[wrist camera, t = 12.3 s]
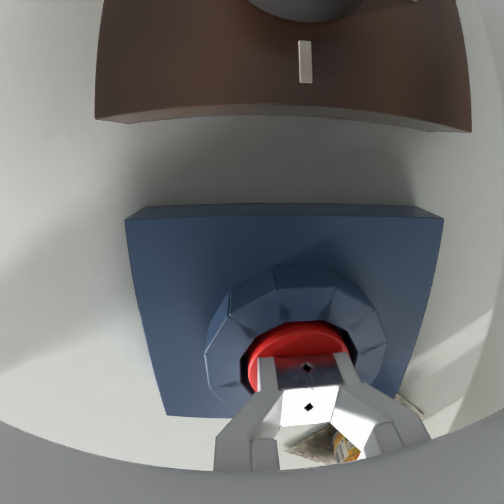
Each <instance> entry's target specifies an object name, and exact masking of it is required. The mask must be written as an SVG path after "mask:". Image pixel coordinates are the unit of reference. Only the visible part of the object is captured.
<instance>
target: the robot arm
mask: <svg viewBox="0 0 504 504" xmlns="http://www.w3.org/2000/svg"><path fill="white" fill-rule="evenodd" d="M324 422H330V423H331V424H332V425H333V426H334V427H335V428H336V429H337V430H338V431H339V432H341V433H342V434H343V435H344V436H345V437H346V438H347V439H348V440H349V441H350V442H351V443H352V444H354V445H355V446H356V447H357V448H358V449H359V450H360V451H361V453H360V455H359V457H358V459H357V460H354V461H349V462H344V463H338V464H332V465H325V466H318V467H310V468H301V469H290V470H280V465H279V457H278V449H277V441H276V440H274V437H275V436H276V434H277V432H278V431H279V429H280V427H283V426H293V425H302V424H313V423H324ZM0 504H504V408H503V409H501V410H499V411H498V412H496V413H494V414H492V415H490V416H487V417H486V418H483V419H481V420H479V421H477V422H475V423H472V424H470V425H468V426H466V427H463V428H461V429H458V430H456V431H454V432H451V433H448V434H445V435H443V436H440V437H437V438H435V439H432V440H431V438H430V436H429V434H428V432H427V430H426V428H425V426H424V424H423V422H422V421H421V419H420V417H419V415H418V413H416V412H414V411H413V410H411V409H409V408H407V407H406V406H404V405H402V404H401V403H399V402H397V401H396V400H394V399H392V398H391V397H389V396H387V395H386V394H384V393H382V392H381V391H379V390H377V389H376V388H374V387H372V386H371V385H369V384H367V383H366V382H362V383H361V381H360V379H359V377H358V375H357V373H356V370H355V368H354V366H353V364H352V362H351V359H350V357H349V355H348V353H347V352H346V351H344V352H336V353H329V354H318V355H306V356H274V357H258V371H257V392H255V393H254V394H253V395H252V396H251V398H250V399H249V400H248V401H247V402H246V404H245V405H244V406H243V407H242V408H241V409H240V411H239V412H238V413H237V414H236V415H235V416H234V417H233V419H232V420H231V421H230V422H229V423H228V424H227V425H226V426H225V428H224V429H223V430H222V431H221V432H220V433H219V434H218V435H217V436H216V441H215V454H214V468H213V471H199V470H186V469H176V468H167V467H159V466H152V465H145V464H139V463H133V462H128V461H123V460H118V459H113V458H109V457H104V456H100V455H96V454H92V453H88V452H84V451H81V450H77V449H74V448H71V447H67V446H64V445H61V444H58V443H55V442H52V441H49V440H46V439H43V438H41V437H38V436H35V435H33V434H30V433H28V432H25V431H23V430H20V429H18V428H16V427H13V426H11V425H9V424H7V423H4V422H2V421H0Z"/></svg>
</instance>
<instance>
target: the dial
mask: <svg viewBox="0 0 504 504" xmlns="http://www.w3.org/2000/svg"><path fill="white" fill-rule="evenodd" d="M248 1H249V2H250V3H252V4H253V5H254V6H256V7H258V8H259V9H261V10H263V11H265V12H267V13H269V14H272V15H274V16H277V17H280V18H284V19H288V20H292V21H298V22H308V23H318V22H328V21H332V20H336V19H339V18H342V17H344V16H346V15H348V14H350V13H351V12H352V11H354V10H355V9H356V8H357V7H358V6H359V5H360V4H361V3H362V1H363V0H248Z"/></svg>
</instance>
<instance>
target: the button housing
mask: <svg viewBox="0 0 504 504" xmlns="http://www.w3.org/2000/svg"><path fill="white" fill-rule="evenodd" d="M443 223H444V219H443V218H442V217H439V216H437V215H435V214H433V213H431V212H428V211H426V210H424V209H421V208H419V207H413V206H394V205H369V204H333V203H237V204H200V205H174V206H154V207H143V208H142V209H140V210H139V211H137V212H136V213H134V214H133V215H131V216H130V217H128V218H127V219H125V229H126V237H127V244H128V251H129V258H130V265H131V271H132V277H133V282H134V288H135V293H136V298H137V304H138V309H139V313H140V318H141V323H142V327H143V332H144V336H145V340H146V344H147V348H148V352H149V356H150V360H151V364H152V368H153V371H154V375H155V379H156V382H157V386H158V389H159V392H160V396H161V399H162V402H163V406H164V409H165V412H166V415H169V416H182V417H200V418H233V417H234V416H235V415H236V414H237V413H238V412H239V411H240V409H241V408H242V407H243V406H244V405H245V404H246V402H247V401H248V400H249V399H250V398H251V396H252V395H253V394H254V393H255V391H254V389H253V388H252V386H251V384H250V382H249V378H248V352H247V349H248V347H249V346H250V345H251V343H252V342H253V341H254V339H255V338H256V337H257V336H259V335H261V334H263V333H265V332H267V331H269V330H271V329H273V328H275V327H277V326H279V325H281V324H283V323H285V322H294V321H313V320H324V321H326V322H328V323H330V324H333V325H335V326H337V328H338V330H339V332H340V334H341V336H342V339H343V341H344V343H345V345H346V347H347V349H348V352H349V356H350V359H351V362H352V364H353V366H354V368H355V370H356V373H357V375H358V377H359V379H360V381H361V383H362V382H366V383H367V384H369V385H371V386H372V387H374V388H376V389H377V390H379V391H381V392H382V393H384V394H386V395H387V396H389V397H391V398H392V399H395V397H396V394H397V392H398V389H399V387H400V384H401V382H402V379H403V377H404V374H405V371H406V369H407V366H408V363H409V361H410V358H411V355H412V352H413V349H414V346H415V343H416V340H417V337H418V334H419V330H420V327H421V324H422V320H423V317H424V313H425V310H426V306H427V302H428V298H429V294H430V290H431V286H432V282H433V277H434V273H435V268H436V263H437V258H438V253H439V248H440V242H441V236H442V229H443Z"/></svg>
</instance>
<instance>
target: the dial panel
mask: <svg viewBox="0 0 504 504" xmlns="http://www.w3.org/2000/svg"><path fill="white" fill-rule="evenodd" d="M224 115H290V116H311V117H326V118H338V119H348V120H358V121H366V122H374V123H381V124H388V125H395V126H401V127H407V128H412V129H418V130H423V131H428V132H461V133H471V132H472V120H471V97H470V83H469V73H468V64H467V57H466V50H465V44H464V38H463V33H462V27H461V23H460V18H459V14H458V9H457V5H456V1H455V0H363V1H362V3H361V4H360V5H359V6H358V7H357V8H356V9H355V10H354V11H352V12H351V13H350V14H348V15H346V16H344V17H342V18H339V19H336V20H332V21H328V22H318V23H308V22H298V21H292V20H288V19H284V18H280V17H277V16H274V15H272V14H269V13H267V12H265V11H263V10H261V9H259V8H258V7H256V6H254V5H253V4H252V3H250V2H249V1H248V0H104V4H103V10H102V16H101V24H100V31H99V40H98V50H97V63H96V79H95V119H96V120H103V121H111V122H118V123H125V124H133V123H140V122H148V121H156V120H166V119H176V118H188V117H203V116H224Z"/></svg>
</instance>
